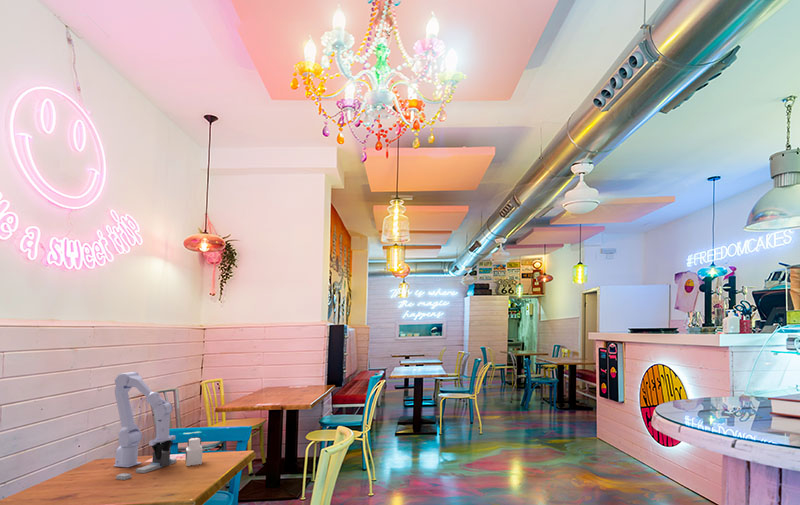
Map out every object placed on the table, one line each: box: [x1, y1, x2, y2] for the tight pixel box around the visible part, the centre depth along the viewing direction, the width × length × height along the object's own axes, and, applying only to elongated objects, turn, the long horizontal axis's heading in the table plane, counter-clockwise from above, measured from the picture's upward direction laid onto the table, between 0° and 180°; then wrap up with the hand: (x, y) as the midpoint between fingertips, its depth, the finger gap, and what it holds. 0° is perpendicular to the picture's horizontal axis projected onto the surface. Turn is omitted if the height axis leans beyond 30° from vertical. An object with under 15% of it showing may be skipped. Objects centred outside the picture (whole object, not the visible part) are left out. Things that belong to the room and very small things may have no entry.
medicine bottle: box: [185, 436, 203, 467], centre depth 241 cm, size 7×7×12 cm
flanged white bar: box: [115, 458, 177, 481], centre depth 231 cm, size 5×30×2 cm, turn 161°
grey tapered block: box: [151, 450, 171, 467], centre depth 239 cm, size 7×4×6 cm, turn 71°
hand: (161, 458), depth 239 cm, fingers closed on grey tapered block, 3 cm apart
